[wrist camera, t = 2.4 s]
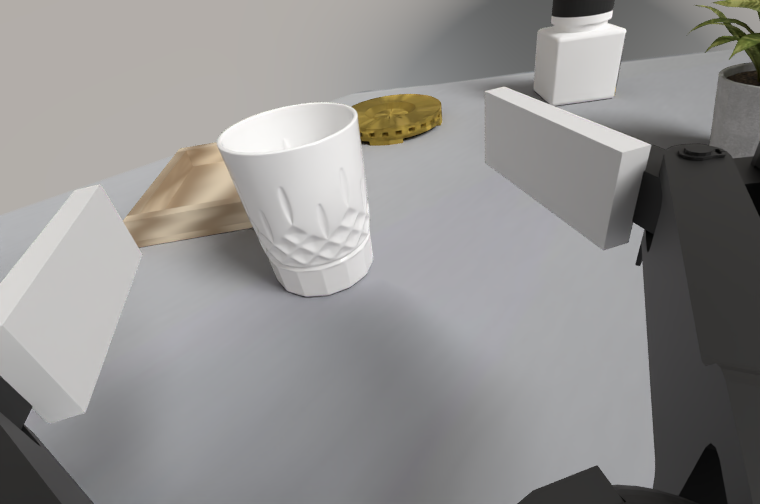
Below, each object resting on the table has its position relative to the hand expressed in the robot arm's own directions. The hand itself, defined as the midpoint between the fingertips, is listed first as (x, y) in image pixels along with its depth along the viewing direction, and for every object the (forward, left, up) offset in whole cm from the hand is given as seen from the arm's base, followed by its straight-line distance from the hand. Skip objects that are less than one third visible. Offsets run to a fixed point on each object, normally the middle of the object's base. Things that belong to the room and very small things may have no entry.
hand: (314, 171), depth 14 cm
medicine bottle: (+28, +36, -11) cm, 47 cm away
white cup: (-2, +10, -11) cm, 15 cm away
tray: (-10, +25, -11) cm, 29 cm away
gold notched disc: (+6, +36, -12) cm, 38 cm away
